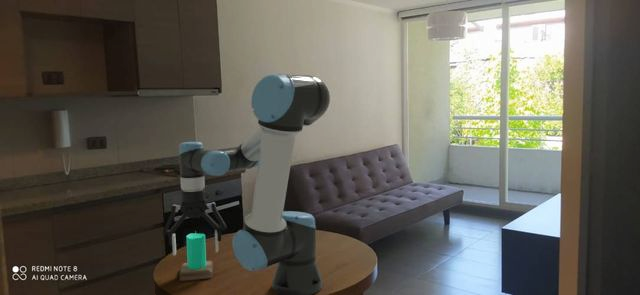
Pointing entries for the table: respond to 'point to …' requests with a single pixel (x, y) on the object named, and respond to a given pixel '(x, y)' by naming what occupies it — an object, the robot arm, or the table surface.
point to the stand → (196, 272)
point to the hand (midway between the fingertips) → (196, 252)
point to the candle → (196, 251)
